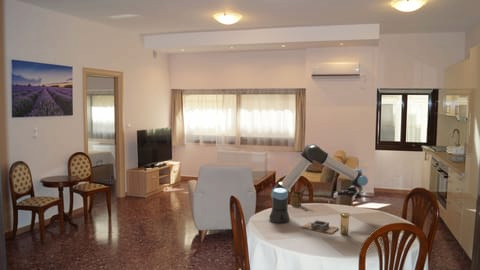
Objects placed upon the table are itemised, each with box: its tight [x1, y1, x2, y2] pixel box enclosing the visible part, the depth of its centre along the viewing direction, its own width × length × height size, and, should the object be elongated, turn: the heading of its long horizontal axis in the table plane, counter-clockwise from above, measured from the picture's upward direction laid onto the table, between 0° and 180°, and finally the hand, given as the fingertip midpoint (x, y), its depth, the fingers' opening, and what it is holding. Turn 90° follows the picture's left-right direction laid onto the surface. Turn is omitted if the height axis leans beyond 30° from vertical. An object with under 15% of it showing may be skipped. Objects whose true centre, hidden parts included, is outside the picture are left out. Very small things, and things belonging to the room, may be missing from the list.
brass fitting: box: [339, 212, 351, 237], centre depth 265 cm, size 6×6×14 cm
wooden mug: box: [289, 185, 306, 207], centre depth 340 cm, size 9×14×18 cm, turn 55°
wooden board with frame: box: [301, 219, 340, 235], centre depth 277 cm, size 22×14×4 cm, turn 57°
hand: (343, 197), depth 279 cm, fingers open, 13 cm apart
